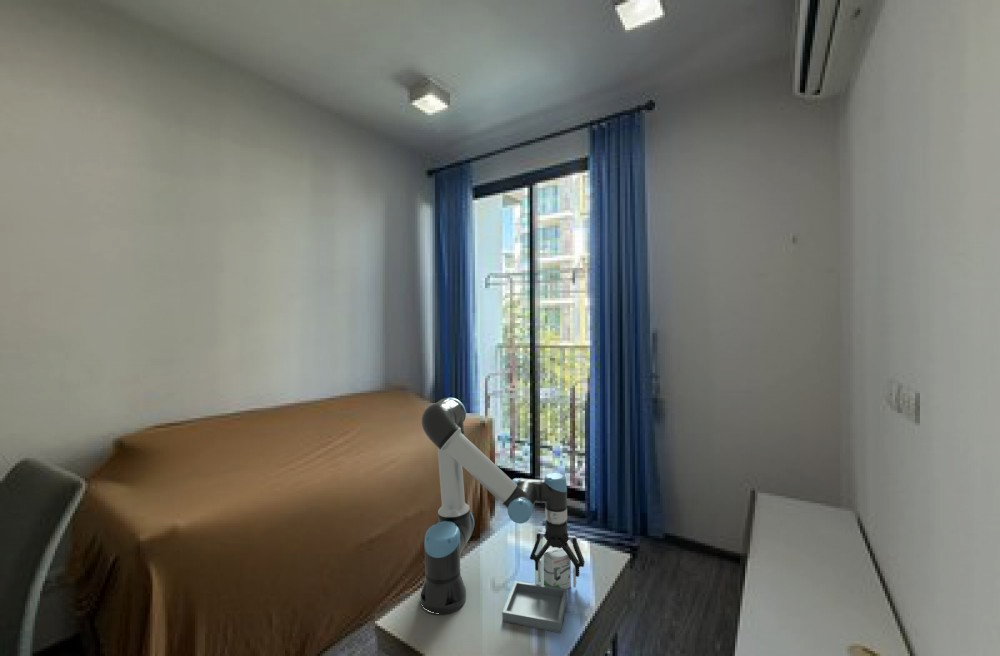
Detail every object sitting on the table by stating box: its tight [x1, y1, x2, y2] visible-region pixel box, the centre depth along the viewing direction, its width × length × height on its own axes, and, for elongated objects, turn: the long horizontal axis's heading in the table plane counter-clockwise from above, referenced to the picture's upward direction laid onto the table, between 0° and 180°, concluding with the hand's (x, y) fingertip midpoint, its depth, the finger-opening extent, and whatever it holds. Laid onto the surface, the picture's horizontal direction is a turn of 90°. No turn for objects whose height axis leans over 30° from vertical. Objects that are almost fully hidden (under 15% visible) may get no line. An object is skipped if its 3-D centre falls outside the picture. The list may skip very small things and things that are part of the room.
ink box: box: [543, 548, 572, 590], centre depth 142 cm, size 9×5×12 cm, turn 119°
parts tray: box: [501, 580, 568, 634], centre depth 131 cm, size 18×16×3 cm
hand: (557, 582), depth 142 cm, fingers open, 11 cm apart
